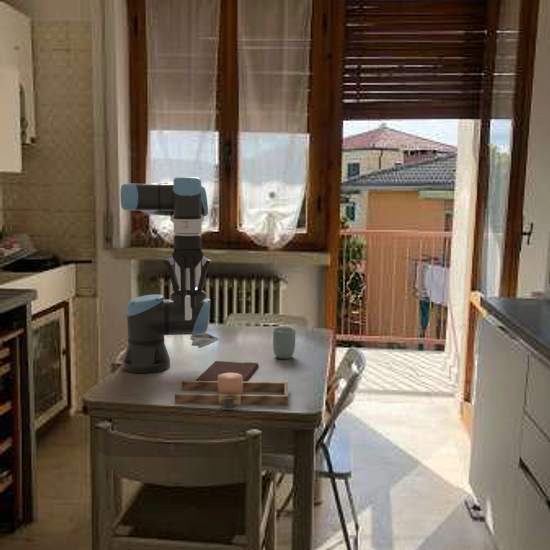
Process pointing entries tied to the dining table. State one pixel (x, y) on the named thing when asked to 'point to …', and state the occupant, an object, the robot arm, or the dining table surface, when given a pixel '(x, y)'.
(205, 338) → the cloth
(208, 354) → the dining table surface
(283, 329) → the cup
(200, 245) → the robot arm
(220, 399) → the track
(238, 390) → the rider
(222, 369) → the notebook
